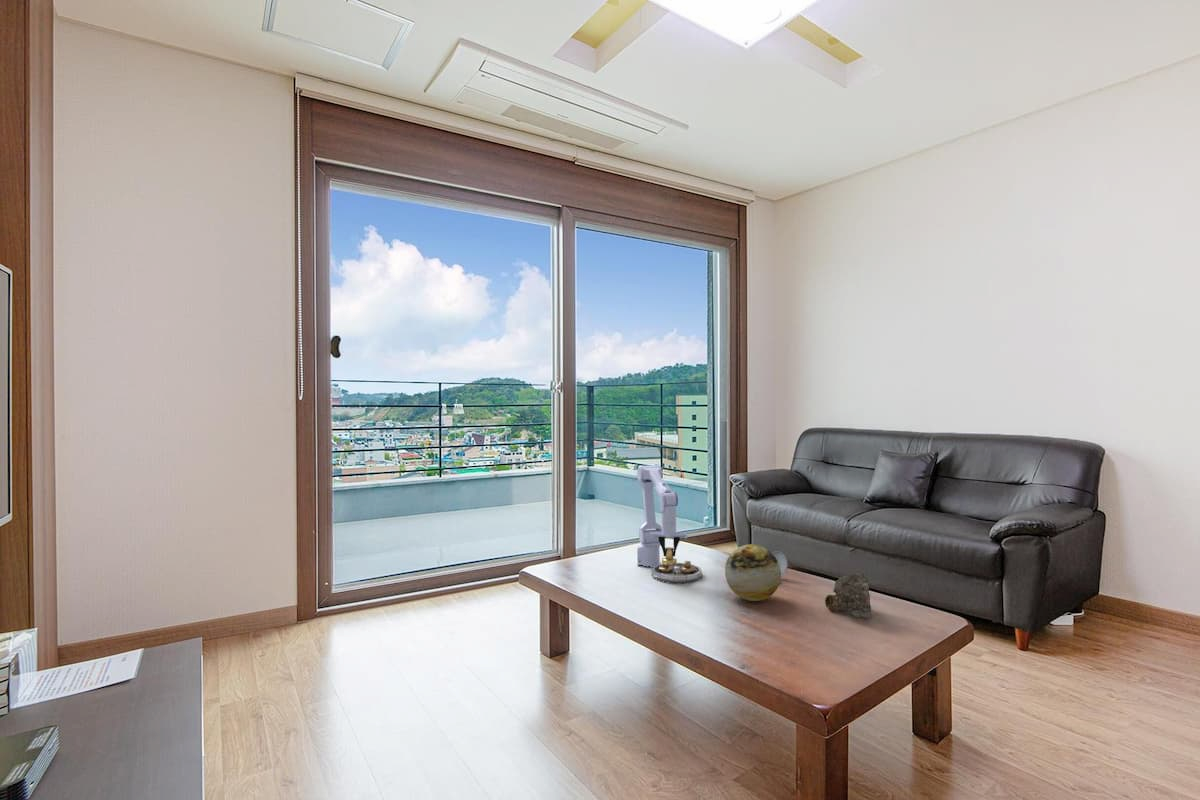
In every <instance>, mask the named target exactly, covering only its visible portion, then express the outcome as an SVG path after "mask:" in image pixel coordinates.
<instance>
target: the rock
mask: <svg viewBox="0 0 1200 800" xmlns="http://www.w3.org/2000/svg"><path fill="white" fill-rule="evenodd" d="M868 580H869V579H868V577H867V575H866V574H864V573H859V572H851V573H846V574H845V575H841V577H839V578H838V579H837V580H835V583H834V587H833V589H832V592H833V593H835V594H827V595H826V597H825V599H824V604H825V607H826V608H827V609H828V611H831V612H834V611H841V612H846V613H847V614H848V615H849V616H852V617H854V618H857V619H860V618H864V619H868V620H870V619H872V617H873V609H872V607H871V595H870V588H869V583H868V582H869V581H868Z"/></svg>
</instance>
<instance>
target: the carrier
mask: <svg viewBox="0 0 1200 800" xmlns="http://www.w3.org/2000/svg"><path fill="white" fill-rule="evenodd" d="M652 576H653V577H654V578H655V579H657V580H656V581H658V580H660V581H659V582H661V581H664V582H663V583H666V582H669V583H668V584H677V583H681V584H690V583H689V582H691V583H695V582H699V581H700V580H702V578H703V571H702V569H701V567H700V566H698V565H694V564H692V563H691V560H685V561H684V563H683V562H677V563H676V564H674V565H665V564H659V565H656V566H654V567H653V568H652V567H651V577H652ZM653 577H652V578H653ZM701 577H702V578H701ZM654 578H653V579H654ZM655 579H654V580H655ZM699 579H700V580H699Z"/></svg>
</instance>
